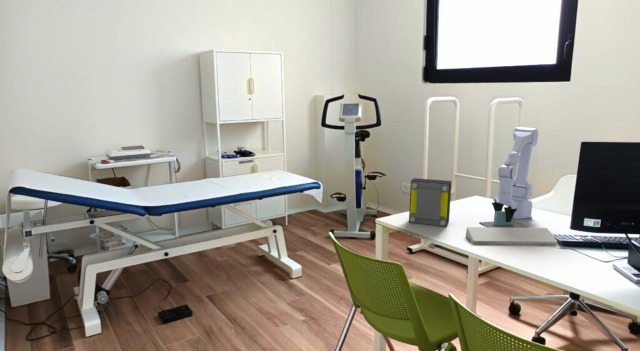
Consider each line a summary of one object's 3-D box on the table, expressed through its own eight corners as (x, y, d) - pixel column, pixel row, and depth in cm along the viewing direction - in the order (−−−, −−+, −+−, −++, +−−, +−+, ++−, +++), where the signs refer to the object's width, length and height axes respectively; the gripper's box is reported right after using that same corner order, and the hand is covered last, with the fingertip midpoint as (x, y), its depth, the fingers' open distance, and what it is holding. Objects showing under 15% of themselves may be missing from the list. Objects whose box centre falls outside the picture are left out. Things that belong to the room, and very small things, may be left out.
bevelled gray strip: (554, 251, 189) (544, 237, 198) (557, 241, 187) (547, 228, 196) (471, 250, 189) (465, 236, 198) (473, 240, 187) (467, 227, 196)
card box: (510, 223, 216) (511, 210, 214) (513, 224, 214) (514, 211, 213) (493, 224, 214) (494, 211, 212) (495, 225, 212) (497, 212, 211)
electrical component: (407, 223, 215) (409, 181, 212) (412, 217, 225) (414, 177, 221) (446, 227, 209) (449, 185, 205) (449, 221, 218) (451, 180, 214)
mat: (512, 220, 220) (512, 220, 220) (532, 229, 207) (532, 228, 207) (479, 223, 216) (479, 222, 216) (496, 232, 203) (497, 231, 203)
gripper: (488, 188, 216) (486, 215, 219) (507, 195, 203) (505, 224, 205) (501, 187, 218) (499, 215, 221) (521, 194, 204) (518, 223, 207)
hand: (503, 219), depth 213 cm, fingers open, 7 cm apart
